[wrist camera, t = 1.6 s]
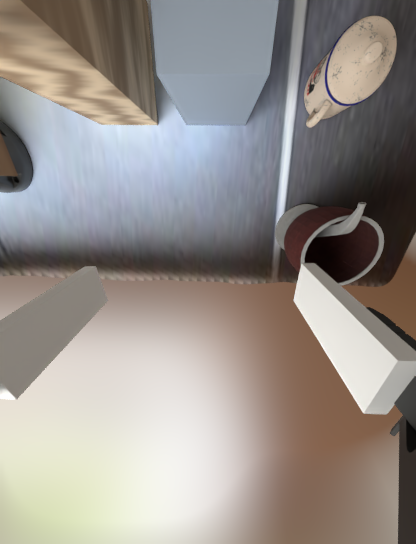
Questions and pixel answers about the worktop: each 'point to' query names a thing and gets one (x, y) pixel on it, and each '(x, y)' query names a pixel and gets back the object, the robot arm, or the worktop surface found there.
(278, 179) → the worktop surface
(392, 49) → the teacup with lid
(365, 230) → the mate gourd
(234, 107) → the slate base
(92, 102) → the oak stand
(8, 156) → the walnut bar
